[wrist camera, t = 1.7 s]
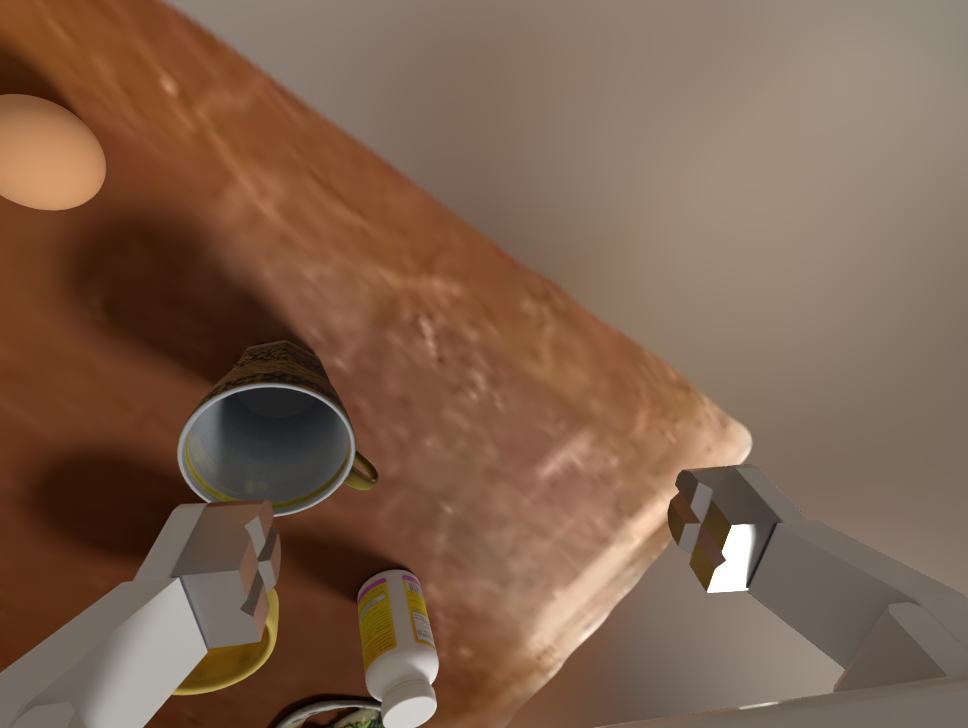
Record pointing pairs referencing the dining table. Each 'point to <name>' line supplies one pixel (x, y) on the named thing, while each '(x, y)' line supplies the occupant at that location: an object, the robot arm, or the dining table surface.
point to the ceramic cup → (272, 434)
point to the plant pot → (232, 659)
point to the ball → (47, 155)
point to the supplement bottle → (398, 648)
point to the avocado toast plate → (360, 724)
